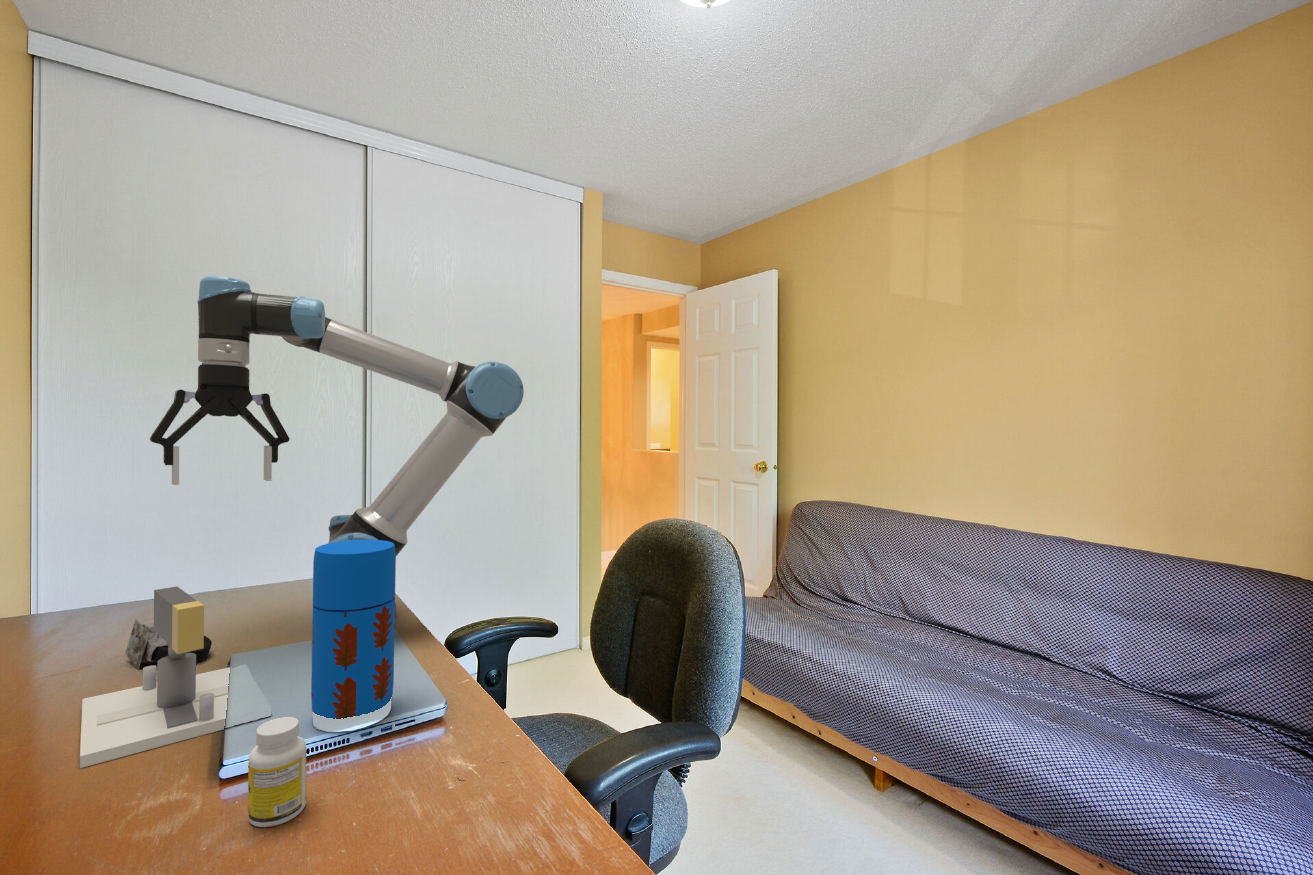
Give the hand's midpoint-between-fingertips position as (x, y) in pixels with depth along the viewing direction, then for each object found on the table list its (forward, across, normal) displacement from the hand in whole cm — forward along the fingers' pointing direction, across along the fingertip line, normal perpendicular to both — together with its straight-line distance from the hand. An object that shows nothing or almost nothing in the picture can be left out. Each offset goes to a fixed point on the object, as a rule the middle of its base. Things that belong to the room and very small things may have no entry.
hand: (223, 482), depth 107 cm
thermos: (+32, +10, -39) cm, 51 cm away
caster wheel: (+32, -7, +3) cm, 33 cm away
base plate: (+32, -9, -21) cm, 39 cm away
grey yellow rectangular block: (+23, -9, -21) cm, 33 cm away
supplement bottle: (+32, -3, -56) cm, 65 cm away
